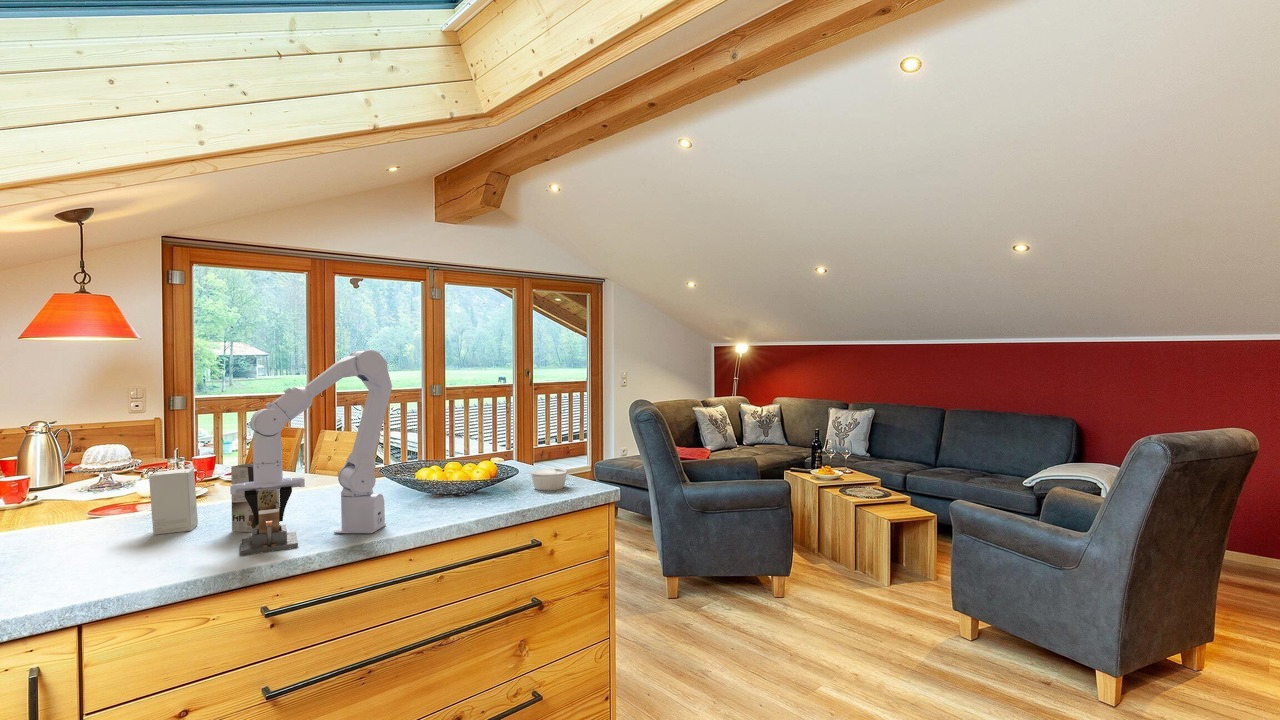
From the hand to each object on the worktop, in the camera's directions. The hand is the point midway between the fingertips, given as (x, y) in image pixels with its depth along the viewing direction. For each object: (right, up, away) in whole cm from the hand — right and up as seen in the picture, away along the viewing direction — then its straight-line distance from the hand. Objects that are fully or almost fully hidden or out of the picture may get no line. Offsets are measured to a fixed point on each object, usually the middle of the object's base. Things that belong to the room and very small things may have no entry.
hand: (269, 521), depth 147 cm
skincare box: (-31, -6, +14) cm, 35 cm away
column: (0, -4, 0) cm, 4 cm away
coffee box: (-12, -6, +16) cm, 21 cm away
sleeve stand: (0, -5, 0) cm, 5 cm away
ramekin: (+55, -4, +59) cm, 81 cm away
